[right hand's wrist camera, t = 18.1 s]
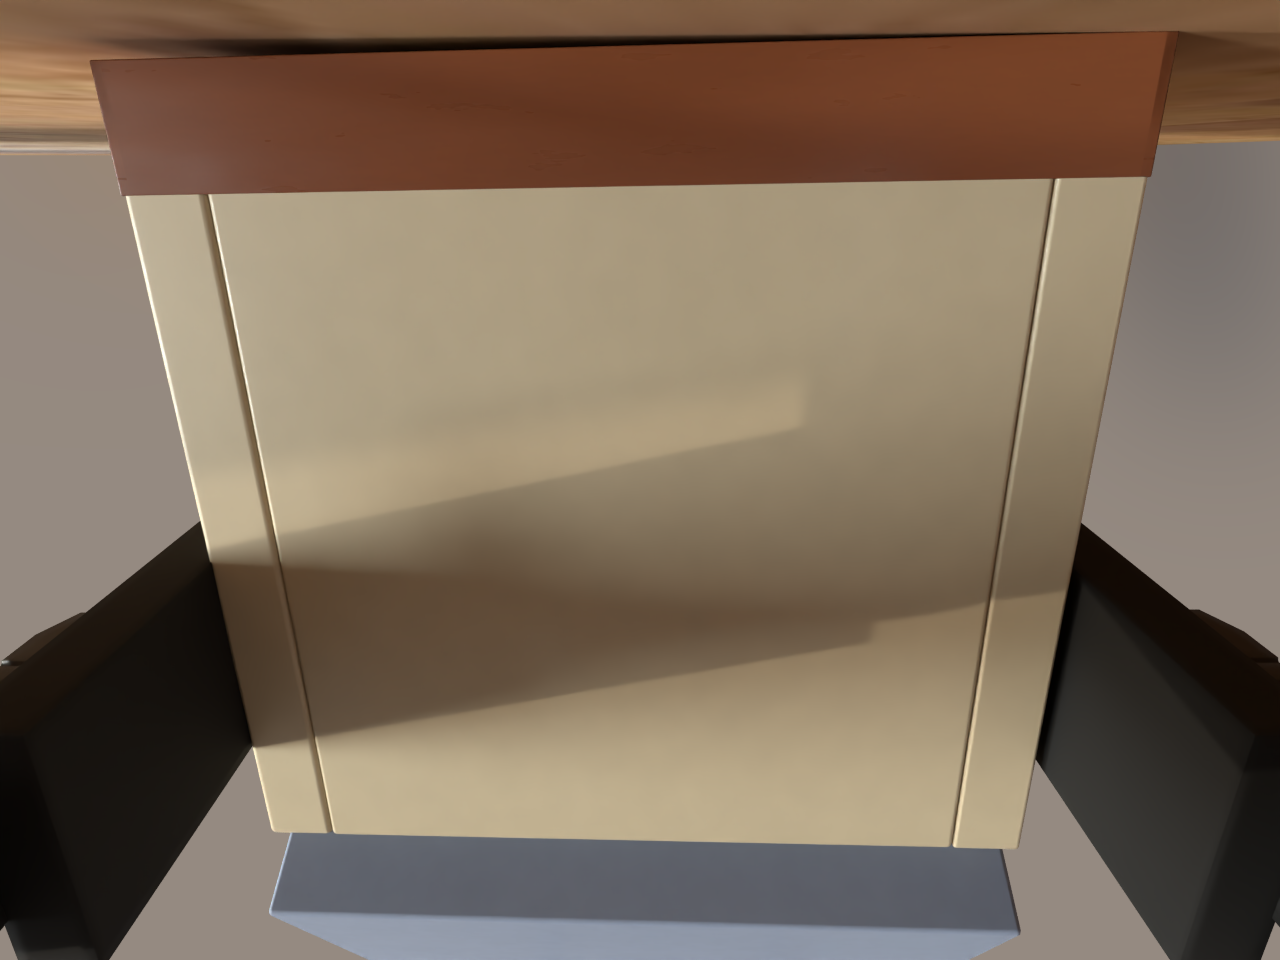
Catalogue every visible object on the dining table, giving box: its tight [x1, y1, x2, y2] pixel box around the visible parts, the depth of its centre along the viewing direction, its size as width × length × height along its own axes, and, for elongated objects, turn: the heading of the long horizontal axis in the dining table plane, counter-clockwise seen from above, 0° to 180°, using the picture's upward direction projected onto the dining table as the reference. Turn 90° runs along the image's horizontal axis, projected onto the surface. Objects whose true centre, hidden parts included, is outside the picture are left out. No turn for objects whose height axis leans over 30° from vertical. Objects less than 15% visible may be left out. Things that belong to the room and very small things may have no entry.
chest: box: [90, 31, 1179, 849], centre depth 17 cm, size 16×10×10 cm, turn 3°
